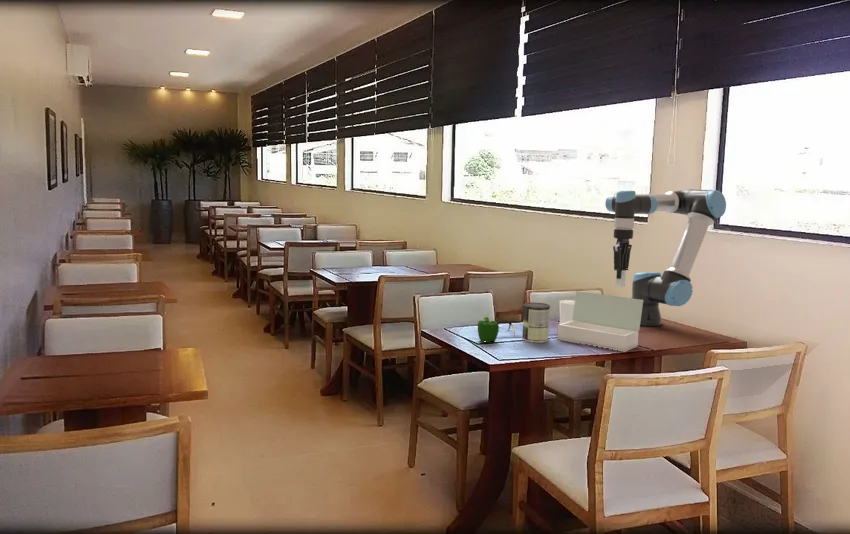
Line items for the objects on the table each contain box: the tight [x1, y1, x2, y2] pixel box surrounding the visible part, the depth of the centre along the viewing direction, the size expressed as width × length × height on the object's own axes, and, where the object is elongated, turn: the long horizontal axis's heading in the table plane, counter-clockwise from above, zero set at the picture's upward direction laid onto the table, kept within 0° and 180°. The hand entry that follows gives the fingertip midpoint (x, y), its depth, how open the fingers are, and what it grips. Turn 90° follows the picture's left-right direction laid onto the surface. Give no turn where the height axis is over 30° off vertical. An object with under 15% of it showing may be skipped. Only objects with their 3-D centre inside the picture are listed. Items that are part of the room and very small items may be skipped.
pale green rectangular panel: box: [572, 290, 643, 332], centre depth 272 cm, size 12×28×1 cm
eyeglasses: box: [477, 321, 516, 338], centre depth 280 cm, size 14×14×4 cm
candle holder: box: [559, 299, 581, 324], centre depth 290 cm, size 10×10×12 cm
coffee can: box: [522, 302, 551, 344], centre depth 269 cm, size 10×10×14 cm
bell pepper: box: [477, 316, 500, 343], centre depth 265 cm, size 8×8×10 cm
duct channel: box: [556, 320, 639, 353], centre depth 267 cm, size 12×28×6 cm, turn 50°
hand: (620, 286), depth 280 cm, fingers closed
